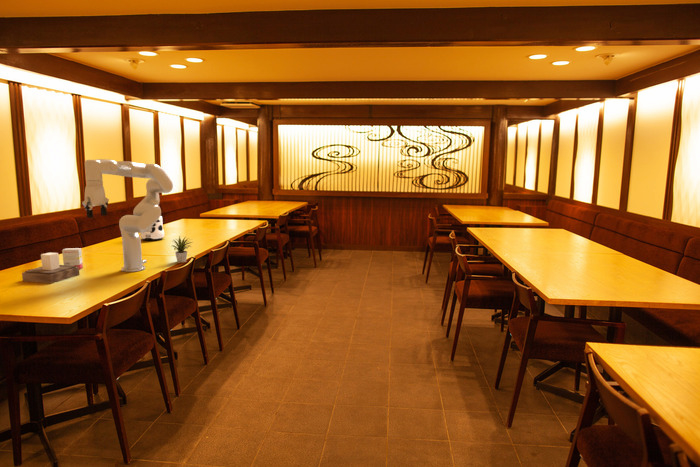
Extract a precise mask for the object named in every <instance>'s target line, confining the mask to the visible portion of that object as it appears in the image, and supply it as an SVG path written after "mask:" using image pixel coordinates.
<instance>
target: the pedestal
mask: <svg viewBox="0 0 700 467" xmlns="http://www.w3.org/2000/svg"><path fill="white" fill-rule="evenodd" d="M59 265H60V268H57V269H53V270H44V269H42V266H39V267H35V268H33V269H28V270H25V272H21V276H22V277H21V278H22V282H27V283H28V282H30V283H39V284H41V283H42V284H50V285H51V284H55V282H56V283H58V282H62V281H65V280H68V279H71V278H75V277H77V276H80V269H79V267H76V266H69V265H64V264H59Z"/></svg>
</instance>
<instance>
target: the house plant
mask: <svg viewBox="0 0 700 467" xmlns="http://www.w3.org/2000/svg"><path fill="white" fill-rule="evenodd" d="M192 240H193V238H192V239H190V237H188V238H186V237H184V238H182V239H181V235H179V237H178V239H177V238H175V239H173V240H171V241H172V242H173V243H174V244H175V245H174V244H173V245H171V247H173V248H174V251H175V250H177V251H175V252H174V253H175V257H176V261H177V263H180V264H181V263H186V262H187V258H188V257H187V256H188V251H187V250H188V249H189V248H191V243H194V242H193V241H192ZM191 241H192V242H191ZM186 249H187V250H186Z"/></svg>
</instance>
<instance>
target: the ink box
mask: <svg viewBox="0 0 700 467" xmlns="http://www.w3.org/2000/svg"><path fill="white" fill-rule="evenodd" d="M61 252H62V261H63V265H69V266H76V267H79V270H82V268H84V267H83V266H84V265H83V254H82V253H83V252H82V248H81V247H80V248H79V247H75V248H74V247H73V248H71V247H70V248H68V247H67V248H63V249H62V250H61Z"/></svg>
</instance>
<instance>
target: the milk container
mask: <svg viewBox="0 0 700 467" xmlns="http://www.w3.org/2000/svg"><path fill="white" fill-rule="evenodd" d="M163 223H164V221H163V216H162V215H160V218H159V219H158V220H157V221H156V222H155V224H154V225H153V226H152V227H151V228H150V229H149V230H148V231H146V232H144V233H139V235H140V239H141V240H143V241H144V240H145V241H158V240H159V241H160V240H162V239H164V237H165V230H164V226H163V225H164V224H163Z"/></svg>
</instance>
